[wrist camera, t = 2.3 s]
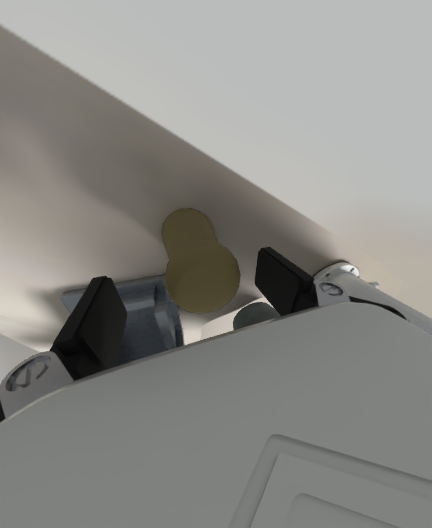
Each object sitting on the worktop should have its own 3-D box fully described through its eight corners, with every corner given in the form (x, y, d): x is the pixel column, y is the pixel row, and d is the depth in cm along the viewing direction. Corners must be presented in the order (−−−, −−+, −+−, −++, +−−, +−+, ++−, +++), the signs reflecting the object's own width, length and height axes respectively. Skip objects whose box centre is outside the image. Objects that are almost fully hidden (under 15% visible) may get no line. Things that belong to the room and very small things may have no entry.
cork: (154, 214, 17) (139, 263, 8) (208, 203, 18) (253, 236, 9) (170, 262, 20) (173, 337, 11) (215, 250, 21) (254, 311, 12)
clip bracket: (170, 273, 21) (173, 341, 12) (183, 331, 27) (191, 403, 19) (64, 292, 18) (-21, 392, 10) (105, 351, 24) (73, 444, 16)
